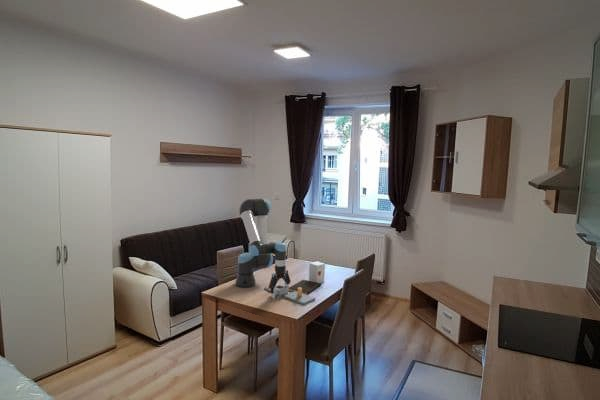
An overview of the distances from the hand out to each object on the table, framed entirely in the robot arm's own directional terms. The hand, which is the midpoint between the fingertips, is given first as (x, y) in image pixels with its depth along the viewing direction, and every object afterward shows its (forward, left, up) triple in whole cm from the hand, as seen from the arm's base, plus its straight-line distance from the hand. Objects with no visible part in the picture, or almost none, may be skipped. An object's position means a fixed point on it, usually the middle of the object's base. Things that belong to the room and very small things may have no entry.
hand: (279, 295), depth 238 cm
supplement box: (0, +41, 0) cm, 41 cm away
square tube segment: (0, 0, 0) cm, 0 cm away
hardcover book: (+3, +24, -1) cm, 24 cm away
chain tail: (-11, +2, 0) cm, 11 cm away
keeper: (+14, +5, 0) cm, 15 cm away
